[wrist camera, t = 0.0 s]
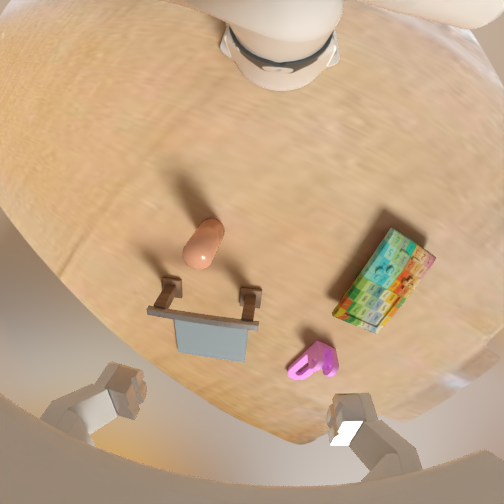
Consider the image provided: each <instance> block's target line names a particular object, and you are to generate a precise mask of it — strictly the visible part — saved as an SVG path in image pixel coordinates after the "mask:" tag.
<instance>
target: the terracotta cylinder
mask: <svg viewBox="0 0 504 504" xmlns="http://www.w3.org/2000/svg"><path fill="white" fill-rule="evenodd" d="M224 232H225V231H224V227H223V225H222V223H221V222H220V221H218V220H216V219H213V218H209V219H206V220H204V221H203V222H202V223H201V224H200V226H199V227H198V228H197V230H196V231H195V233H194V234H193V235H192V237H191V238H190V240H189V241H188V242H187V244H186V245H185V247H184V249H183V253H182V254H183V259H184V261H185V262H186V263H187V265H189V266H190V267H192V268H194V269H199V270H200V269H205V268H207V267H208V266H210V264H211V263H212V260H213V258H214V256H215V254H216V252H217V249H218V247H219V245H220V243H221V241H222V238H223V236H224Z"/></svg>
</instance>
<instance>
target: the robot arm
mask: <svg viewBox="0 0 504 504" xmlns="http://www.w3.org/2000/svg"><path fill="white" fill-rule="evenodd" d="M161 1H167V2H171V3H175V4H179V5H182V6H185V7H188V8H191V9H194V10H197V11H200V12H203V13H205V14H208V15H210V16H213V17H215V18H217V19H220V20H222V21H224V22H226V26H227V27H226V30H225V33H224V36H223V38H222V41H221V44H220V50H221V52H222V53H223V54H224V55H225V56H227V57H229V58H230V59H232V60H233V61H234V62H235V63H236V64H237V66H238V67H239V69H240V71H241V72H242V73H243V74H244V75H245V76H246V77H247V78H248V79H249V80H250V81H252V82H253V83H255V84H256V85H258V86H261V87H263V88H266V89H270V90H276V91H288V90H294V89H298V88H300V87H303V86H305V85H307V84H309V83H310V82H311V81H313V80H314V79H315V78H316V77H317V76H318V75H319V74H320V73H321V72H322V71H323V70H324V69H327V68H329V67H332V66H334V65H336V64H337V63H338V62H339V60H340V54H339V48H338V42H337V36H336V31H335V27H336V26H337V24H338V22H339V21H340V19H341V16H342V13H343V0H161ZM356 1H360V2H364V3H367V4H371V5H374V6H377V7H381V8H384V9H387V10H390V11H393V12H396V13H401V14H406V15H411V16H415V17H419V18H423V19H427V20H431V21H436V22H440V23H444V24H447V25H451V26H454V27H458V28H461V29H475V28H479V27H482V26H484V25H486V24H489V23H491V22H492V21H494V20H495V19H497V18H498V17H499V16H500V15H501V14H503V12H504V0H356ZM143 377H144V374H143V371H142V370H139V369H135V368H131V367H128V366H125V365H122V364H118V363H115V362H110V363H109V364H108V365H107V367H106V368H105V370H104V371H103V372H102V374H101V376H100V377H99V378H98V380H97V381H96V383H95V384H91V385H88V386H86V387H83V388H81V389H79V390H77V391H74V392H72V393H70V394H68V395H65V396H63V397H61V398H58V399H56V400H53V401H52V402H51V404H50V405H49V406H48V408H47V409H46V410H45V412H44V413H43V415H42V416H41V418H40V419H39V418H37V417H35V416H34V415H32V414H31V413H29V412H27V411H26V410H24V409H22V408H21V407H19V406H18V405H16V404H15V403H13V402H12V401H11V400H9V399H8V398H6V397H5V396H3V395H2V394H1V393H0V504H504V461H503V460H502V459H501V458H499V457H497V456H496V455H495V454H493V453H491V452H489V451H487V450H485V449H484V450H479V451H476V452H473V453H471V454H468V455H466V456H463V457H461V458H458V459H455V460H452V461H449V462H446V463H443V464H440V465H437V466H433V467H431V468H427V469H422V466H421V463H420V460H419V457H418V454H417V451H416V448H415V447H414V446H412V445H411V444H410V443H408V442H407V441H406V440H405V439H404V438H402V437H401V436H400V435H399V434H398V433H396V432H395V431H394V430H392V429H391V428H390V427H389V426H388V425H387V424H385V423H384V422H383V421H382V420H378V418H377V414H376V411H375V408H374V404H373V401H372V398H371V395H370V394H369V393H358V394H357V393H348V394H335V395H334V397H333V404H332V405H330V406H329V409H328V412H327V425H328V426H329V427H330V428H331V430H330V431H329V440H330V445H349V447H350V448H351V449H352V450H353V452H354V453H355V454H356V455H357V456H358V457H359V459H360V460H361V461H362V462H363V463H364V464H365V466H366V467H367V468H368V469H369V470H370V472H369V473H368V474H367V475H366V477H364V478H363V480H361V482H358V483H349V484H339V485H326V486H300V487H297V486H296V487H293V486H292V487H291V486H287V487H286V486H262V485H249V484H239V483H230V482H223V481H216V480H209V479H204V478H199V477H193V476H188V475H183V474H179V473H175V472H170V471H167V470H163V469H159V468H155V467H152V466H148V465H145V464H142V463H139V462H135V461H132V460H130V459H126V458H124V457H121V456H118V455H115V454H113V453H110V452H107V451H105V450H102V449H100V448H97V447H95V443H94V441H93V440H92V438H91V436H90V434H92V433H93V432H94V431H96V430H98V429H99V428H101V427H102V426H104V425H105V424H107V423H108V422H110V421H111V420H113V419H114V418H116V417H117V416H118V415H119V416H122V417H125V418H129V419H133V420H135V419H136V417H137V414H138V412H139V410H140V408H139V404H141V403H143V401H144V399H145V397H146V392H147V387H146V383H145V382H144V381H143V380H142V379H143Z"/></svg>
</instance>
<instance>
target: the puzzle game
mask: <svg viewBox="0 0 504 504" xmlns="http://www.w3.org/2000/svg"><path fill="white" fill-rule="evenodd" d="M435 259H436V257H435V256H434V255H433V254H431V253H430V252H428V251H427V250H425V249H424V248H423V247H421V246H420V245H418V244H417V243H415V242H414V241H412V240H411V239H409V238H408V237H406V236H405V235H403V234H402V233H400V232H399V231H397V230H395V229H394V228H392V227H391V228H390V229H389V230H388V232H387V233H386V235H385V236H384V238H383V240H382V241H381V243H380V244H379V246H378V247H377V249H376V250H375V252H374V253H373V255H372V256H371V258H370V259H369V261H368V262H367V264H366V265H365V266H364V268H363V269H362V271H361V272H360V274H359V275H358V276H357V278H356V279H355V281H354V282H353V283H352V285H351V286H350V288H349V289H348V290H347V292H346V293H345V294H344V296H343V298H342V300H341V301H340V302H339V304H338V305H337V306H336V308H335V309H334V310H333V312H332V315H333V316H334V317H336V318H338V319H341V320H343V321H346V322H348V323H351V324H353V325H355V326H358V327H360V328H363V329H365V330H368V331H370V332H373V333H375V334H377V333H378V332H379V331H380V330H381V329H382V328H383V326H384V325H385V324H386V323H387V322H388V321H389V319H390V318H391V317H392V316H393V315H394V314H395V312H396V311H397V310H398V309H399V308H400V306H401V305H402V304H403V303H404V301H405V300H406V299H407V298H408V296H409V295H410V294H411V293H412V291H413V290H414V289H415V287H416V286H417V285H418V283H419V282H420V281H421V279H422V278H423V277H424V275H425V274H426V273H427V271H428V270H429V268H430V267H431V266H432V264H433V263H434V261H435Z"/></svg>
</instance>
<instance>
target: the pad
mask: <svg viewBox="0 0 504 504" xmlns="http://www.w3.org/2000/svg"><path fill="white" fill-rule="evenodd" d="M174 320H175V319H174ZM175 329H176V338H177V346H178V352H181V353H186V354H192V355H198V356H204V357H210V358H217V359H224V360H231V361H239V362H245V353H246V343H247V332H248V330H244V329H236V328H228V327H220V326H213V325H206V324H199V323H193V322H187V321H181V320H175Z"/></svg>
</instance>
